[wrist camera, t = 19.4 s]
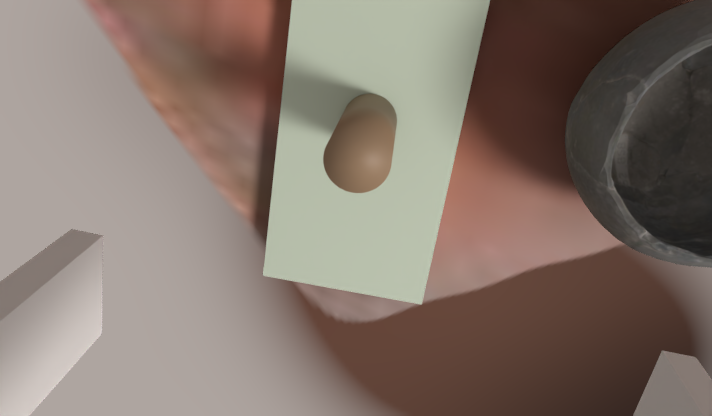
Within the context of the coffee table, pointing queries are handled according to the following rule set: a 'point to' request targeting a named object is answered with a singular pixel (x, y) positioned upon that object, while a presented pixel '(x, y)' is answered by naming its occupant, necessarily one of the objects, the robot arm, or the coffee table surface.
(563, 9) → the coffee table surface
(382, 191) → the lid
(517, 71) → the coffee table surface
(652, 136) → the bowl
